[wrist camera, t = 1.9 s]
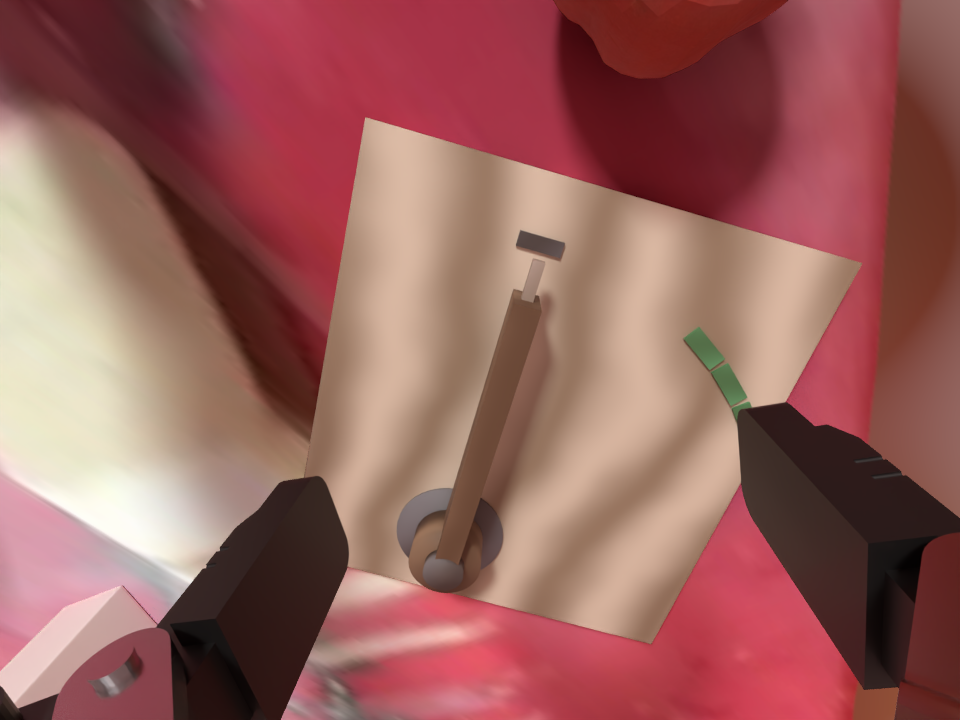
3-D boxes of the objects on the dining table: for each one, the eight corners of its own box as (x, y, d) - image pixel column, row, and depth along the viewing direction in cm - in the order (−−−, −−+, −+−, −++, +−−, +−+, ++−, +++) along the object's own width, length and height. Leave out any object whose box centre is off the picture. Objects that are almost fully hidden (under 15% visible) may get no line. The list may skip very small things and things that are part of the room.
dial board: (299, 537, 37) (290, 554, 35) (373, 119, 27) (364, 117, 25) (646, 626, 38) (651, 646, 36) (844, 257, 28) (864, 264, 26)
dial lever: (408, 555, 34) (399, 592, 31) (496, 243, 26) (494, 253, 23) (472, 571, 34) (469, 610, 31) (578, 266, 27) (586, 280, 24)
